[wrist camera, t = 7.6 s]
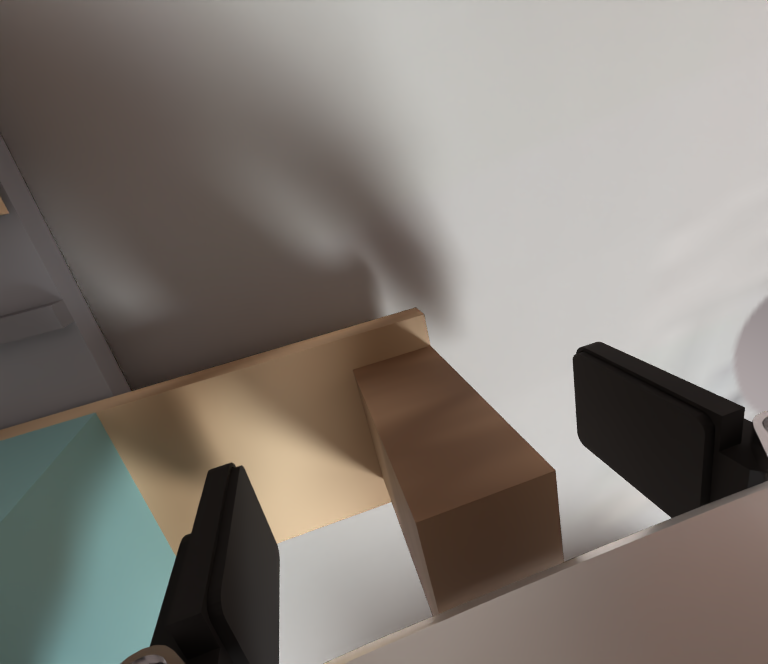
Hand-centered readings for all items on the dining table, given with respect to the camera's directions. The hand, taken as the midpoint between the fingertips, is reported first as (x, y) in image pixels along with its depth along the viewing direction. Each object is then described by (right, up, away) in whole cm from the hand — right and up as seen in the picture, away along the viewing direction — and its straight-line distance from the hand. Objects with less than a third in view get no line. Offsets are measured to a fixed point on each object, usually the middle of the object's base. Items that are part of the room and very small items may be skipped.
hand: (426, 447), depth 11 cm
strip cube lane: (-7, -1, +2) cm, 7 cm away
